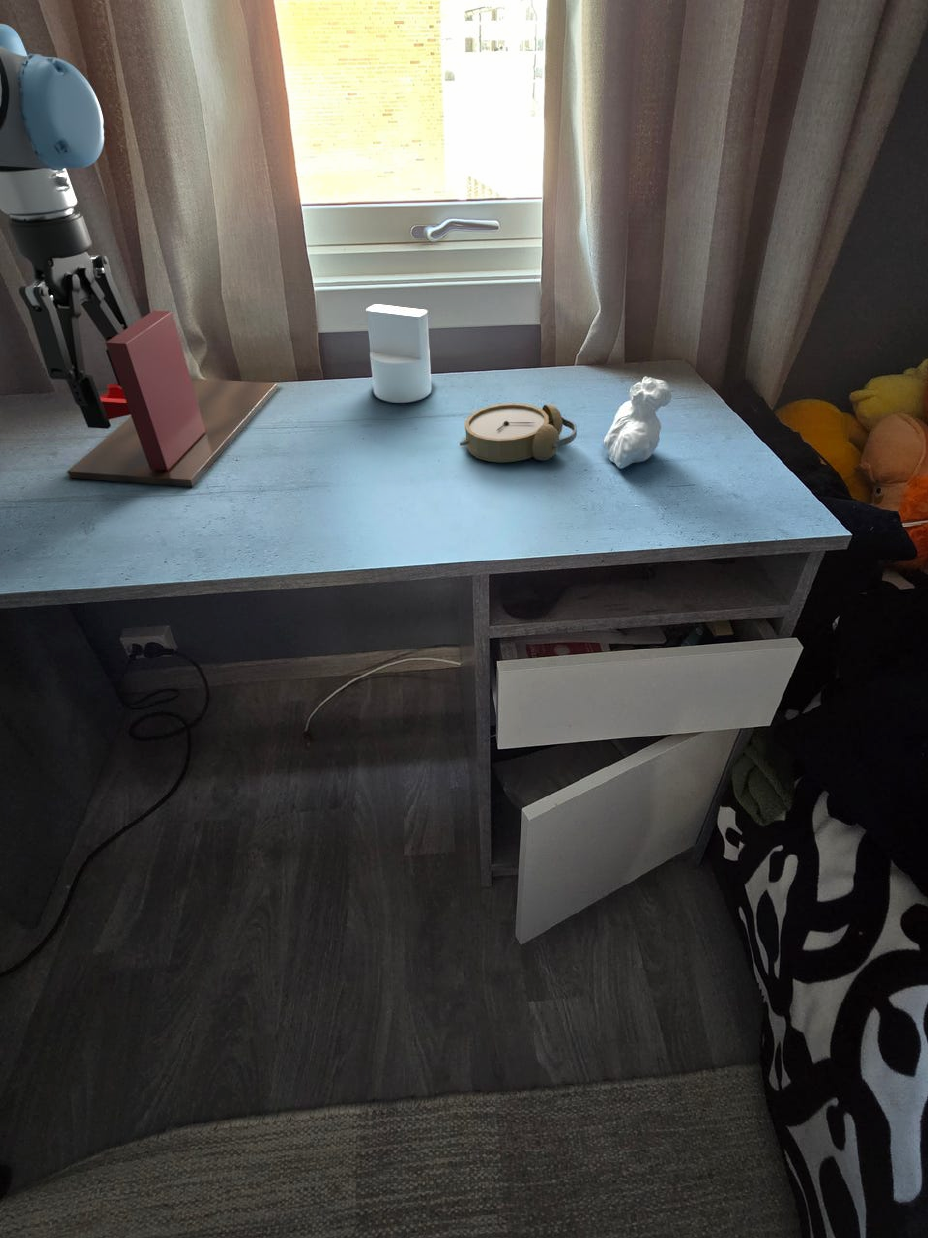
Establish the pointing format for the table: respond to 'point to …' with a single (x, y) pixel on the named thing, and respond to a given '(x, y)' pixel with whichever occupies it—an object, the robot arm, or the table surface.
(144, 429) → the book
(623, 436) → the white tied bag
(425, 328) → the cylinder with rectangular tab
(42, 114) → the robot arm
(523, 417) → the alarm clock
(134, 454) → the stand
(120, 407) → the bracket
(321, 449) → the table surface
